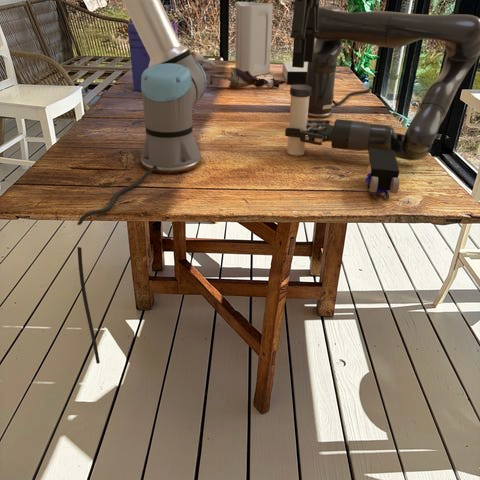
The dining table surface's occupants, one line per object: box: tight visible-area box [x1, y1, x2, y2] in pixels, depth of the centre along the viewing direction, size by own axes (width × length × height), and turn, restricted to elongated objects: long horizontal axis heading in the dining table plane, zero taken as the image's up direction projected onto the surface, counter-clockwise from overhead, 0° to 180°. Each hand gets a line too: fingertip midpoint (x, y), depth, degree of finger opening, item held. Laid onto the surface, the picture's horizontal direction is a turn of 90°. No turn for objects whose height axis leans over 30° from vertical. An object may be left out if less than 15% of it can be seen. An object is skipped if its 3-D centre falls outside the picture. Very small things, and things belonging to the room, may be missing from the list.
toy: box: [194, 51, 217, 68], centre depth 222 cm, size 24×25×7 cm
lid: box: [289, 84, 311, 97], centre depth 122 cm, size 5×5×2 cm
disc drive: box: [281, 61, 308, 85], centre depth 207 cm, size 18×22×5 cm
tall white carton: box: [234, 1, 274, 77], centre depth 210 cm, size 19×15×28 cm
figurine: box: [209, 66, 287, 89], centre depth 190 cm, size 24×8×30 cm
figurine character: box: [365, 149, 400, 200], centre depth 109 cm, size 7×8×15 cm
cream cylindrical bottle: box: [286, 95, 309, 157], centre depth 127 cm, size 5×5×17 cm
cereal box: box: [126, 21, 179, 92], centre depth 181 cm, size 17×5×24 cm, turn 86°
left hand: (302, 64), depth 119 cm, fingers open, 7 cm apart
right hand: (287, 128), depth 128 cm, fingers open, 5 cm apart
